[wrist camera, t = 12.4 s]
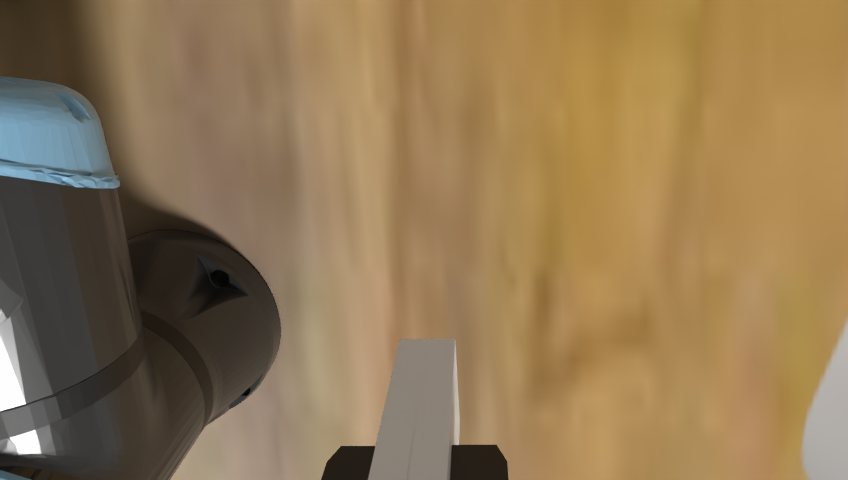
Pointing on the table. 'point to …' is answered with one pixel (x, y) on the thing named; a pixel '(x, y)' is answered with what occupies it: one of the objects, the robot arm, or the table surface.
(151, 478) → the robot arm
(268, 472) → the table surface
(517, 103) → the table surface
